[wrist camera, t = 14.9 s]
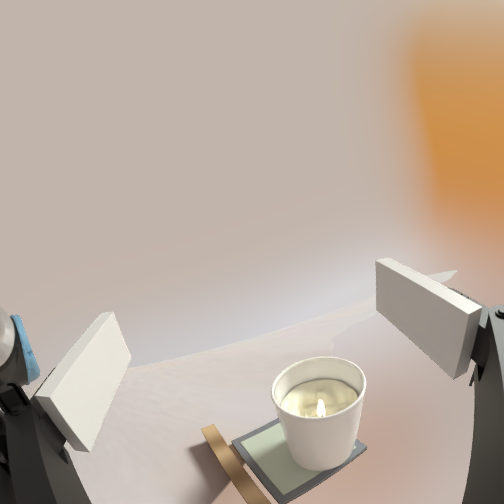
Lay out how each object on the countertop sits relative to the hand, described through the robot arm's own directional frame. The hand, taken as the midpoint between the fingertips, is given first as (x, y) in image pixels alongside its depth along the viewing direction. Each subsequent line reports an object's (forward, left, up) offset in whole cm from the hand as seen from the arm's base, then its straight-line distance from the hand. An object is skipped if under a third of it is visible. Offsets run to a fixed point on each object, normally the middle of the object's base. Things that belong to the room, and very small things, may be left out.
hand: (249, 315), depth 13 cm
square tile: (-9, +6, -27) cm, 29 cm away
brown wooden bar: (-8, -2, -27) cm, 28 cm away
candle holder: (-7, +9, -26) cm, 29 cm away
